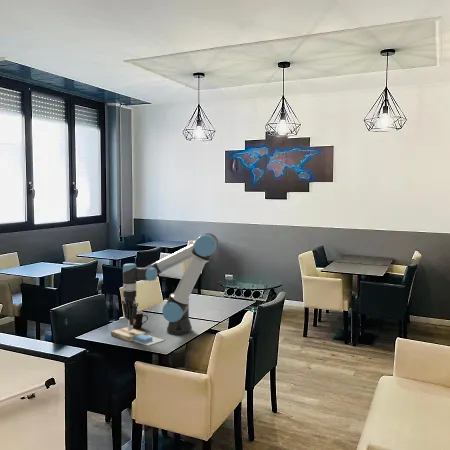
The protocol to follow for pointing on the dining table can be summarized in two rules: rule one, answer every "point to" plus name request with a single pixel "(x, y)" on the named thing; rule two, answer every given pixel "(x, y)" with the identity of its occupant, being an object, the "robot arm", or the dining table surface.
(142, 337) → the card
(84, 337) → the dining table surface
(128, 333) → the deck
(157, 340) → the mat
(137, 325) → the coffee mug
